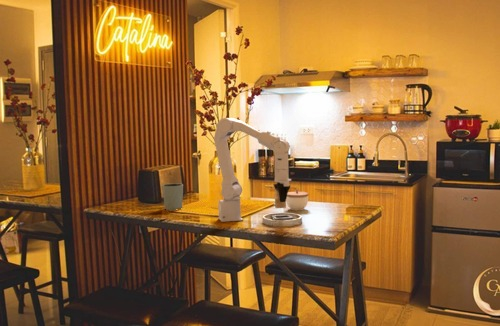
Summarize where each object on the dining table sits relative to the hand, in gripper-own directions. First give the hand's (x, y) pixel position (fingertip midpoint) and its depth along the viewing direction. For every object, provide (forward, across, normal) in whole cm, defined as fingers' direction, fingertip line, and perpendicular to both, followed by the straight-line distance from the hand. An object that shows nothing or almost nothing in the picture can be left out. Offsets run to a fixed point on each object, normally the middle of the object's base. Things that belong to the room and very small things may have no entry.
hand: (281, 201), depth 214 cm
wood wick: (+3, 0, +1) cm, 3 cm away
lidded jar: (+9, +26, -15) cm, 31 cm away
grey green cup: (+9, +46, +42) cm, 63 cm away
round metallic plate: (+9, 0, 0) cm, 9 cm away
